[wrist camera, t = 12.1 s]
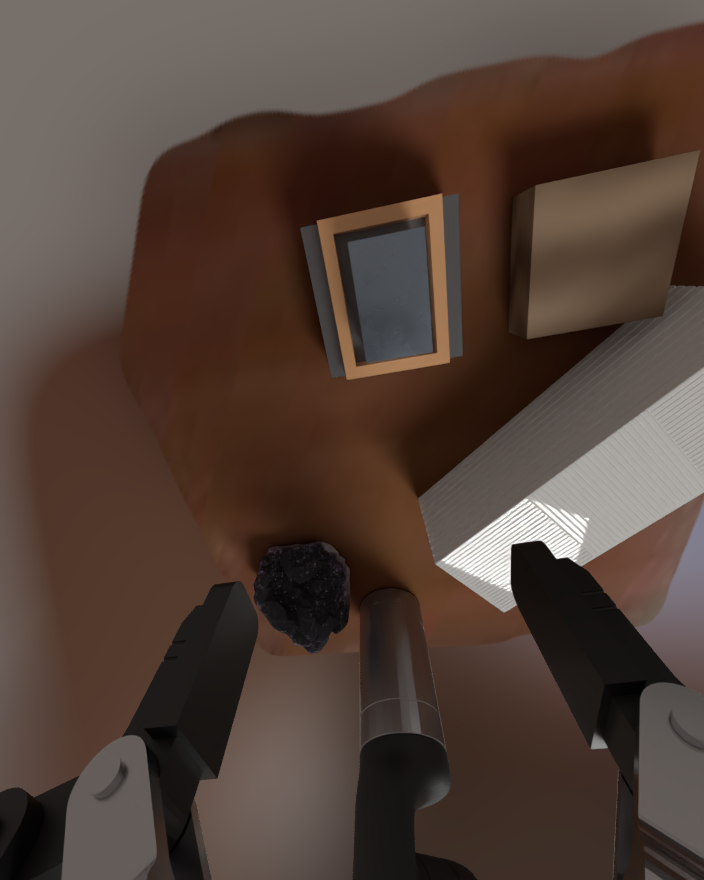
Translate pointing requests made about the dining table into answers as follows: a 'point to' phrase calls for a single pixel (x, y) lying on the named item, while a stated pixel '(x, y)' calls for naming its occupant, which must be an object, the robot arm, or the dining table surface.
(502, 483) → the long white block
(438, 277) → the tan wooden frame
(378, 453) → the dining table surface
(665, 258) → the walnut stand
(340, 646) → the dining table surface
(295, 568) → the crystal cluster
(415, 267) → the block
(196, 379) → the dining table surface
